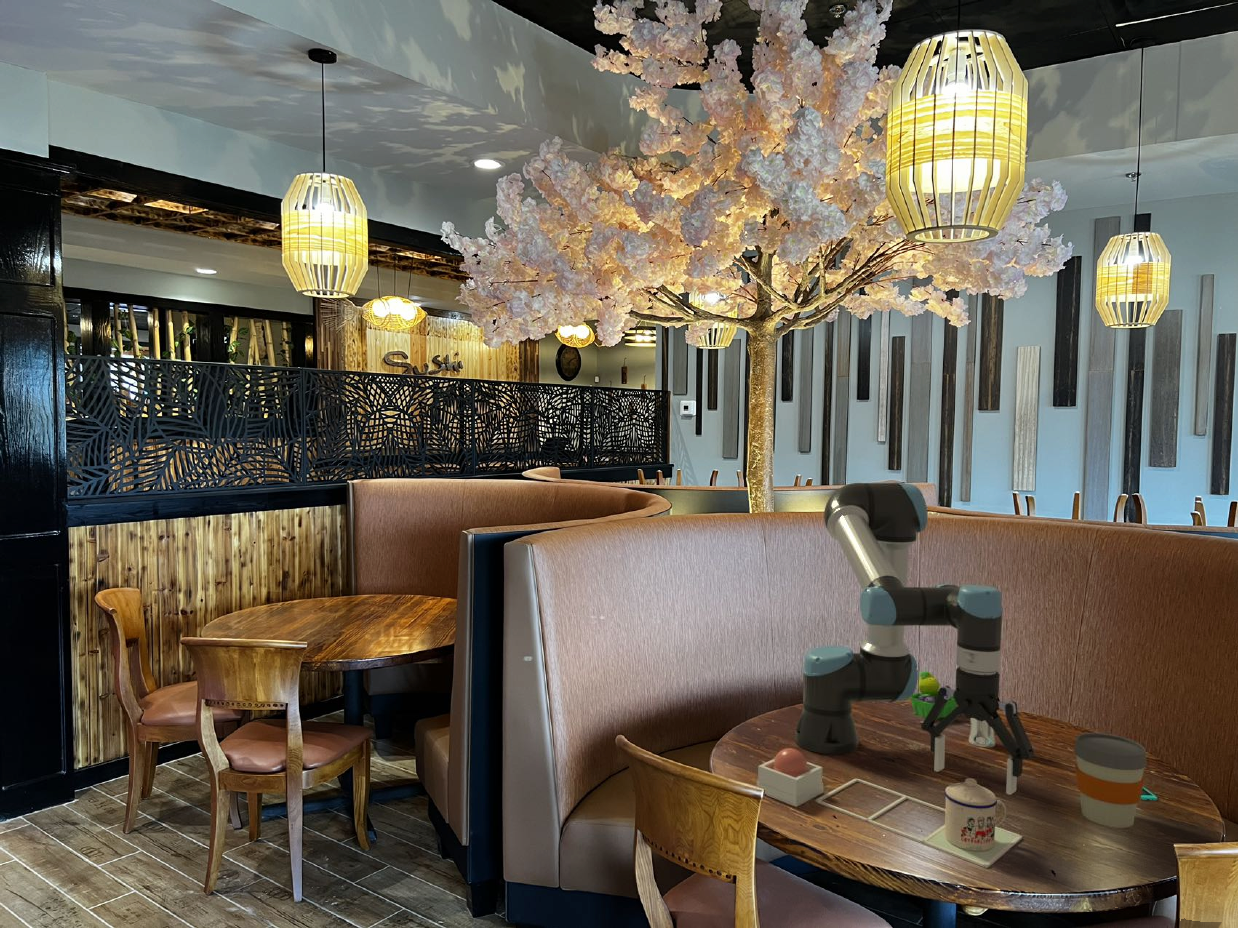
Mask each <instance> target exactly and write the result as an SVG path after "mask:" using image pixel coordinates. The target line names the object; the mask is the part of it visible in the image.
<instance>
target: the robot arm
mask: <svg viewBox="0 0 1238 928" xmlns="http://www.w3.org/2000/svg"><path fill="white" fill-rule="evenodd" d="M928 514H929V513H928V506H927V503H926V500H925V497H924V494H923V492H922V490H920V489H919V487H917V486H916V485H914V484H912V483H903V482H902V483H901V482H867V483H866V482H865V483H864V482H863V483H862V482H854V483H853V482H852V483H849V484H846V485H844V486H842V487H840V488H838V489H836V491H834V493H832V495H831V496H830V497H829V498H828V500H827V502H826V504H825V507H824V511H823V520H824V521H823V522H824V525H825V528H826V530H827V532H828V534H829V535H830V537H831V538H833V539H834V540H836V541H837V542H838V543H839V546H840V547H841V549H842V551H843V553H844V555H845V557H846V559H847V561H848V563H849V565H850V568H851V569H852V571H853V573H854V574H855V576H856V579H857V581H858V583H859V585H860V587H861V589H862V591H861V592H860V597H859V609H860V613H861V618H862V620H863V621H864V622H865V623H866V624H867V631H866V632H867V633H866V639H864V640H863V641H862V642H860V645H859V653H858V652H856V653H855V652H853V651H854V650H852V648H850V647H848V646H845V645H822V646H817V647H814V648H812V649H810V650H809V651H808V652H807V653H805V656H804V663H803V664H804V665H803V670H802V673H803V695H802V696H803V697H802V699H803V700H802V703H803V704H802V706H803V707H802V712H801V715H800V718H799V721H798V723H797V725H796V728H795V734H794V741H795V743H796V744H797V745H798V746H799V747H801V748H803V749H805V750H808V751H811V752H813V753H818V754H825V755H845V754H850V753H853V752H854V751H856V750H857V749H858V748H859V734H858V732H857V728H856V725H855V722H854V718H853V714H852V711H853V707H852V705H853V703H857V702H858V703H864V702H865V703H890V704H891V703H895V702H905V701H908V700H909V699H910V697H911V696H912V695H913V694H915V691H916V689H917V686H918V685H917V684H918V678H919V671H918V669H917V668H918V664H917V663H918V662H917V661H916V658H915V656H914V655H913V654H912V653H910V651H911V650H910V648H909V647H908V646H907V644H906V643H905V642H904V641H905V626H906V627H907V626H910V627H911V626H919V627H920V626H924V627H925V626H927V627H928V626H930V627H931V626H932V627H933V626H934V627H935V626H941V627H942V626H944V627H945V626H947V627H949V626H950V627H953V628H955V629H956V630H957V631H956V633H957V635H956V637H957V639H956V665H957V668H956V670H955V689H952V688H951V687H950V686H949V685H945V686H941V687H939V689H938V691H939V692H938V698H937V700H936V702H935V704H934V705H933V707H932V709H931V710H930V712H929V714H928V715H927V717H926V719H925V718H924V720H923V722H922V723H921V726H920V727H921V729H922V731H925V732H927V733H928V734H929V735H930V751H931V752H933V753H934V761H933V762H934V765H933V767H934V768H933V770H934V772H936V773H938V772H940V771H942V770H943V769H945V757H946V756H945V753H946V735H945V734H942V733H943V731H945V730H946V729H947V728H948V727H949V726H950V725H952V724H953V723H954V722H955V721H956V720H957V719H958V718H959V717H960V716H962V715H964V716H965V718H968V719H970V718H975V719H976V720H979V721H986V722H987V723H988V725H989V726H991V727H992V729H993V730H994V734H995V735H996V736H997V738H999V740H1000V742H1001V743H1002V745H1003V746H1004V747H1005V749H1006V750H1007V752H1008V754H1009V755H1010V756H1009V757H1008V758H1007V762H1006V763H1007V764H1006V787H1005V788H1006V790H1005V794H1006V795H1009V796H1011V795H1012V794H1013V793H1015V792H1016V791H1017V779H1018V778H1019V777H1021V776H1022V774H1023V768H1024V767H1023V766H1024V765H1023V764H1024V763H1023V762H1024V760H1026V761H1027V760H1029V759H1031V758H1032V757H1034V755H1035V751H1034V749H1033V745H1032V744H1031V741H1030V739H1029V737H1028V735H1027V733H1026V730H1025V728H1024V726H1023V723H1022V721H1021V718H1020V717H1019V711H1018V703H1017V702H1016V701H1014V700H1013V701H1010V702H1007V701H1001V699H1000V697H999V695H1000V681H1001V680H1000V678H1001V677H1000V676H1001V674H1000V673H999V671H1000V669H1001V645H1002V644H1001V643H1002V624H1003V623H1002V622H1003V613H1004V612H1003V611H1004V609H1003V604H1002V603H1003V602H1002V601H1003V599H1002V597H1003V596H1002V593H1001V591H1000V590H999V589H997V588H996V587H992V586H987V585H979V584H966V585H963V586H958V585H955V584H949V583H940V584H937V585H935V586H932V587H930V586H929V587H928V586H927V587H924V586H921V587H919V586H917V587H916V586H913V587H912V586H908V572H909V571H908V570H909V559H910V558H909V555H910V554H909V553H910V547H911V546H912V545H914V544H915V543H916V542H917V535H918V534H919V533H921V532H923V531H924V530H925V531H926V528H927V527H926V526H927V525H928V517H929V516H928ZM917 533H918V534H917ZM952 696H953V697H954V699H955V701H956V703H957V707H956V708H955V709H954V710H953V711H952V712H951V713H950V714H949V715H948V716H946V717H944V718H943V719H942V720H941V721H940V722H939V723H937V725H934V724H935V723H936V721H937V720H938V719H939V718H938V716H939V715H940V713H941V711H942V710H943V708H944V706H945V705H946V703H947V701H948V700H949V699H951V698H952ZM1000 709H1001V710H1002V714H1003V715H1005V718H1006V721H1007V723H1008V726H1009V728H1010V730H1011V732H1010V730H1009V729H1008V727H1007V726H1006V725H1005V723H1004V721H1003V719H1002V718H1003V717H1002V716H1001V715H1000V713H999V712H997V710H998V711H999V710H1000ZM937 718H938V719H937Z"/></svg>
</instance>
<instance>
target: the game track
mask: <svg viewBox="0 0 1238 928" xmlns="http://www.w3.org/2000/svg"><path fill="white" fill-rule="evenodd" d="M857 782H858V783H860V784H864V785H865V786H869V787H872V788H874V789H877V790H880V791H883V792H885V793H889V794H892V795H895V796H898V797H900V798H899V799H897V800H895V801H894V802H891V803H890V804H889V805H887V806H885V807H884V808H882V809H881V810H879V811H877V812H875V813H874V814H872V815H870V816H869V817H867V818H866V817H864V816H861V815H860V814H859V815H858V814H856V813H854V812H851V811H849V810H846V809H843V808H840V807H837V806H836V805H834V804H830V803H828V802H825V801H823V800H826V799H827V798H829V797H831V796H833V795H835V794H837V793H838V792H840V791H842V790H843V789H846V788H848V787H849V786H852V785H853V784H855V783H857ZM905 800H909V801H912V802H915V803H918V804H920V805H923V806H926V807H929V808H932V809H934V810H937V811H940V812H943V813H945V809H946V808H942V807H941V806H937V805H934V804H932V803H930V802H929V803H928V802H926V801H922V800H920V799H917V798H914V797H912V796H908V795H905V794H904V793H901V792H897V791H895V790H892V789H889V788H885V787H883V786H879V785H877V784H875V783H872V782H868V781H865V780H862V779H859V778H858V777H856V778H854V779H852V780H850V781H848V782H846V783H844V784H843V785H840V786H839V787H837V788H834V789H833V790H831V791H829V792H827V793H826V794H823V795H821V796H820V797H818V798H816V799H815V800H814V802H815V803H817V804H820V805H822V806H825V807H827V808H830V809H832V810H835V811H837V812H840V813H842V814H845V815H848V816H851V817H853V818H855V819H858V820H862V821H863V822H866V823H868V824H871V825H874V826H876V827H879V828H881V829H885V830H887V831H889V832H891V833H894V834H897V835H900V836H902V837H905V838H907V839H910V840H912V841H915V842H917V843H921V844H923V845H926V846H928V847H931V848H933V849H936V850H939V851H941V852H943V853H946V854H948V855H952V856H954V857H956V858H958V859H961V860H964V861H967V862H970V863H972V864H974V865H978V866H980V867H982V868H984V869H985V868H986V869H988V868H989V867H991V866H992V865H993V864H994V863H995V862H997V860H998V859H1000V858H1002V856H1004V854H1006V853H1007V852H1008V851H1009V850H1011V848H1012V847H1014V846H1015V845H1016V844H1017V843H1018V842H1019V841H1021V840H1022V839H1023V835H1020V834H1018V833H1015V832H1013V831H1009V830H1007V829H1004V828H1001V827H998V826H996V827H995V838H994V846H993V847H992V848H991V849H989V850H986V851H971V850H966V849H963V848H960V847H957V846H955V845H953V844H952V843H950V842H949V841H948V840H947V839H946V837H945V824H944V825H941V826H940V827H939V828H938V829H936V830H935V831H934V832H932V833H930V834H929V835H928V836H926V837H925V838H923V839H922V838H919V837H916V836H914V835H911V834H908V833H907V832H903V831H900V830H898V829H896V828H893V827H890V826H888V825H885V824H883V823H880V822H877V821H875V820H874V819H876V818H878V817H879V816H881V815H883V814H884V813H886V812H887V811H889V810H890V809H893V808H894V807H896V806H897V805H898V804H901V803H902V802H904V801H905Z"/></svg>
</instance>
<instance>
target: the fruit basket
mask: <svg viewBox="0 0 1238 928" xmlns="http://www.w3.org/2000/svg"><path fill="white" fill-rule="evenodd" d="M940 688H941V686H940V682H939V681H938V679H937V678H936V677H935V676H934V675H933V674H932V673H931V672H929V671H928V670H927V671H926V670H924V671H921V672H920V674H919V681H918V690H919V691H920V693H913V695H912V696H911V697H910V698H909V699H910V700H911V703H912V708H913V712H914V715H917V716H919V717H920V718H922V719H924V720H925V719H926V717H927V715H928V714H929V712H930V710H931V709H932V707H933V705H934V704H935V702H936V700H937V698H938V692H939V689H940ZM957 706H958V705H957V703H956V701H955V699H954V697H953V696H952V698H951V699H949V700H948V701H947V703H946V705H945V706H944V708H943V710H942V711H941V713H940V715H939V716H938V718H937V720H938V719H940V718H941V719H942V718H943V719H944V718H945V717H946V716H948V715H949V714H950V713H951V712H952V711H953V710H954V709H955V708H956V707H957Z"/></svg>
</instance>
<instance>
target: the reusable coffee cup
mask: <svg viewBox="0 0 1238 928" xmlns="http://www.w3.org/2000/svg"><path fill="white" fill-rule="evenodd" d="M1075 739H1076V740H1075V744H1074V750H1073V751H1074V754H1075V756H1076V763H1075V765H1074V769H1075V778H1076V785H1077V786H1076V787H1077V790H1078V791H1079V793H1080V805H1081V813H1082V815H1083V816H1084V817H1085V818H1086V819H1088V820H1089V821H1091V822H1094V823H1096V822H1097V823H1096V824H1098V825H1103V826H1105V827H1109V828H1110V827H1111V828H1119V829H1120V828H1121V829H1122V828H1123V829H1124V828H1129V827H1131V826H1133V825H1134V822H1135V817H1136V812H1137V806H1138V803H1140V802H1141V801H1142V800H1141V795H1142V789H1143V787H1144V784H1145V776H1144V775H1143V774H1144V770H1145V768H1146V767H1147V763H1148V762H1147V753H1146V748H1145V746H1143V745H1142V744H1140V743H1139V742H1137V741H1135V740H1132V739H1129V738H1126V737H1124V736H1123V737H1122V736H1119V735H1114V734H1108V733H1101V732H1087V733H1081V734H1078V735H1077V736H1076V738H1075Z"/></svg>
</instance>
